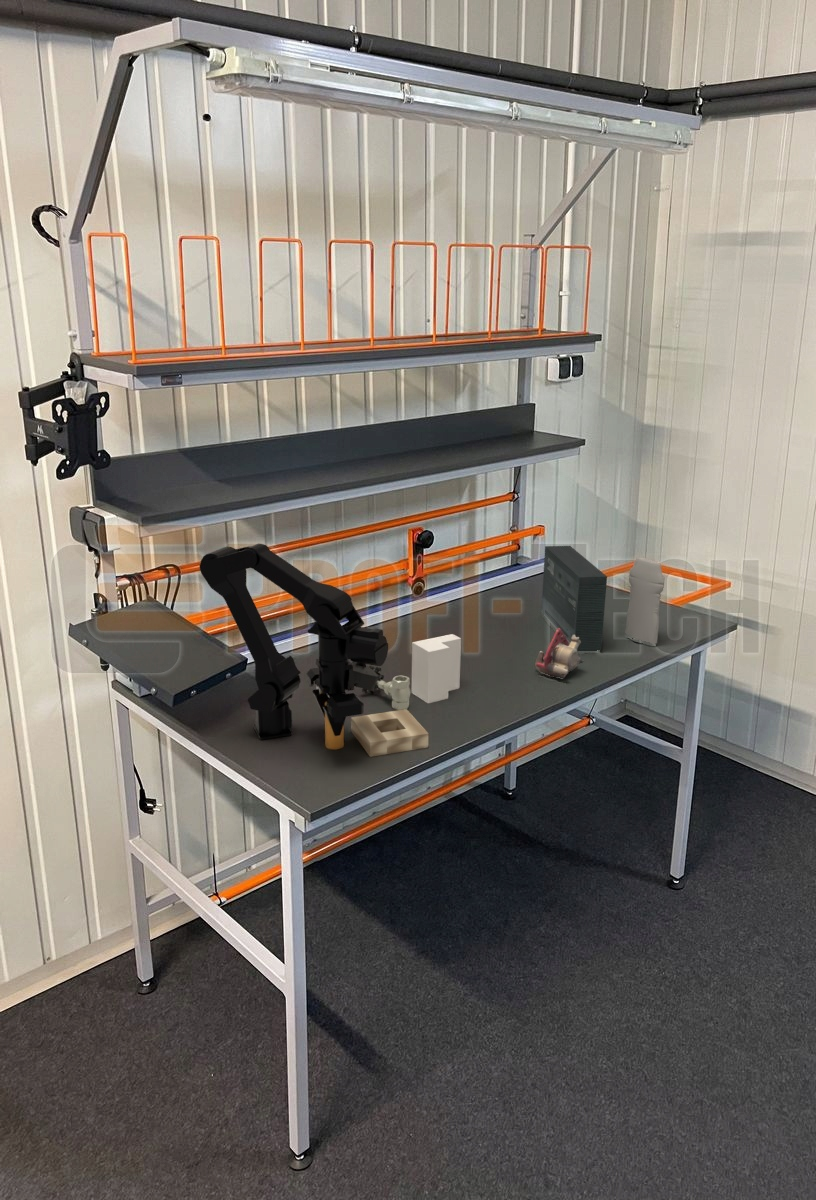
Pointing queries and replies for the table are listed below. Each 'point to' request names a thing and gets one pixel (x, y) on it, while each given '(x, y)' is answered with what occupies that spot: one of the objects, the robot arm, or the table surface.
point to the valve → (393, 689)
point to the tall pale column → (644, 600)
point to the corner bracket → (436, 667)
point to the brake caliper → (559, 656)
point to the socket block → (389, 732)
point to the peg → (333, 736)
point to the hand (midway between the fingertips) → (334, 731)
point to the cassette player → (574, 596)
